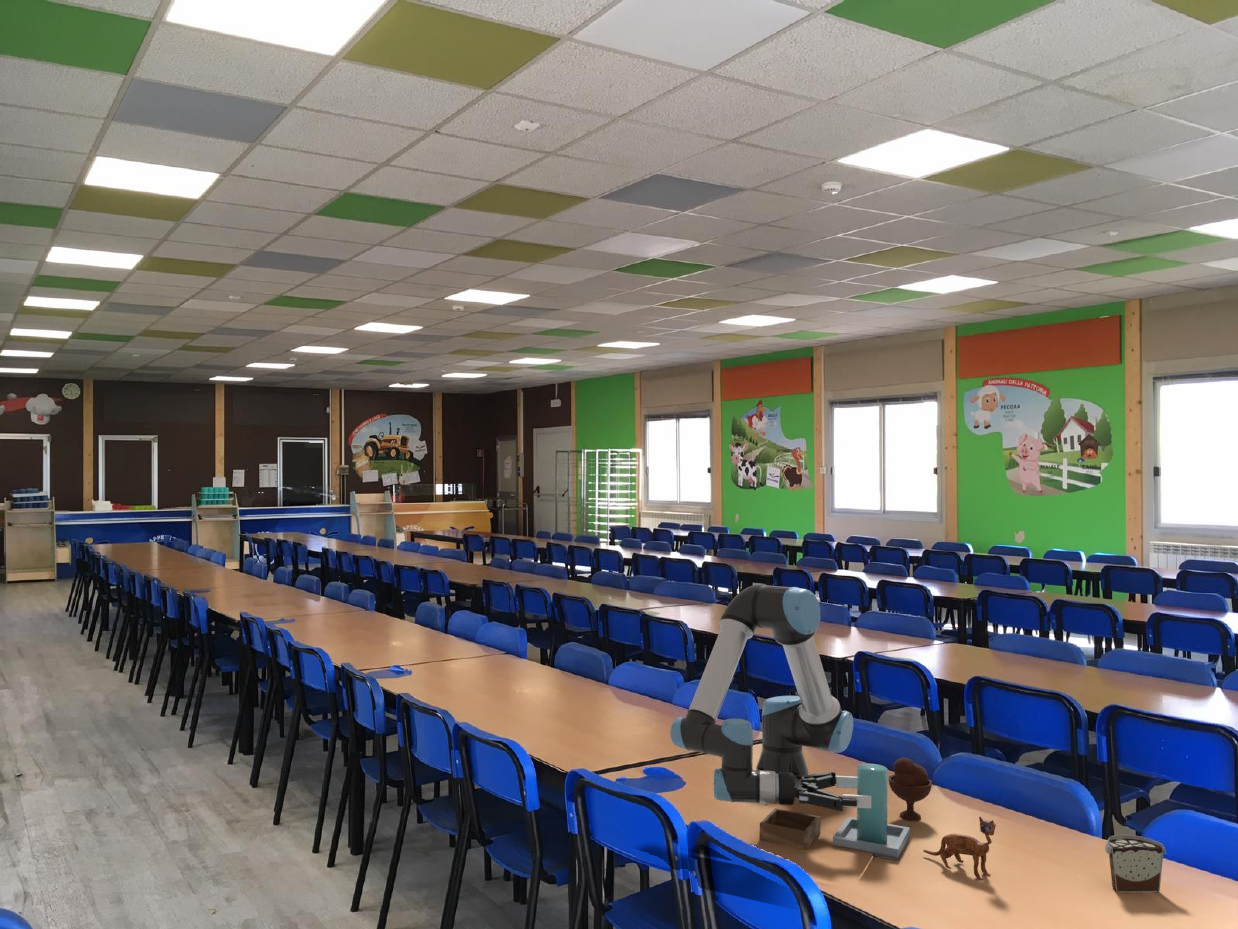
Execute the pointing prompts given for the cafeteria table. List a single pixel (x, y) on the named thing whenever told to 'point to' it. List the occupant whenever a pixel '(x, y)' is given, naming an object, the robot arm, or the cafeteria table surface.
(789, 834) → the open wooden box
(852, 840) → the tray
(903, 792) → the ice cream bowl
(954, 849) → the cat figurine
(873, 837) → the teal jar
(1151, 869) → the food container
